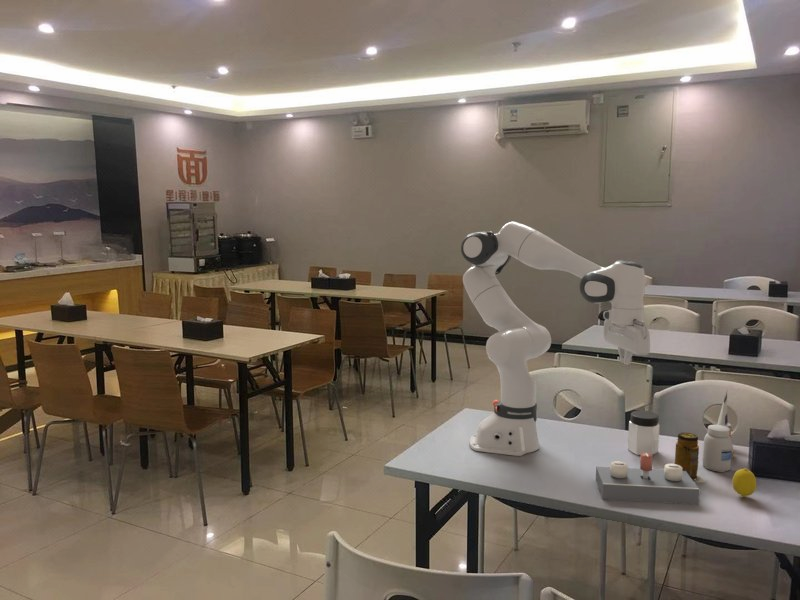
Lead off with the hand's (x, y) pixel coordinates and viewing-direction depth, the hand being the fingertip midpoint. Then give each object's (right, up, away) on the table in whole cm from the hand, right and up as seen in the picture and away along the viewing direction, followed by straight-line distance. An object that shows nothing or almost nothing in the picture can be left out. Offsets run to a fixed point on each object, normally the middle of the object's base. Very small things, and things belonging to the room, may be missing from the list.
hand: (625, 363), depth 186 cm
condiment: (+16, -32, -4) cm, 36 cm away
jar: (+11, -29, +15) cm, 35 cm away
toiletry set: (+32, -30, +9) cm, 45 cm away
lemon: (+25, -34, -17) cm, 46 cm away
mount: (+1, -33, -13) cm, 36 cm away
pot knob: (+1, -31, -14) cm, 34 cm away
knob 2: (+8, -33, -14) cm, 37 cm away
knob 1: (-6, -33, -12) cm, 36 cm away
